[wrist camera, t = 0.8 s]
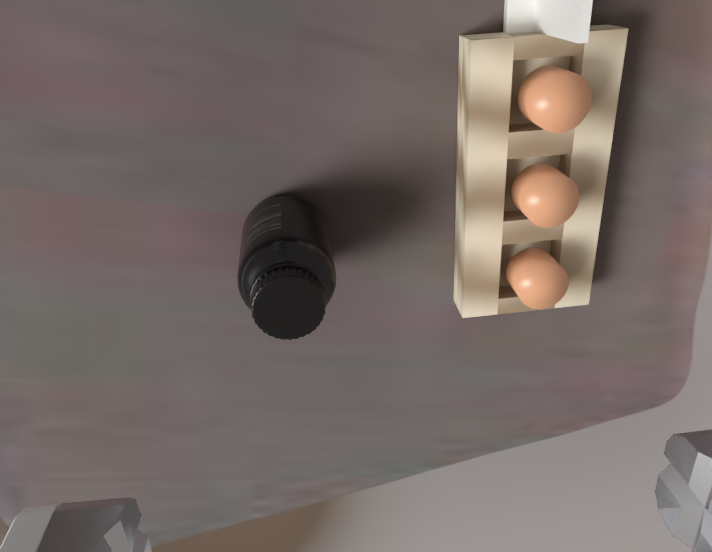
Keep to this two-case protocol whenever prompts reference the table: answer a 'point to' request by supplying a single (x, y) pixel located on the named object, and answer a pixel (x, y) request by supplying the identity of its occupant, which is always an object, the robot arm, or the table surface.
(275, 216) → the supplement bottle
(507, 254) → the wooden egg tray
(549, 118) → the button
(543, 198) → the button mid
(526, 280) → the button
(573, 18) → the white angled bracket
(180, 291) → the table surface
